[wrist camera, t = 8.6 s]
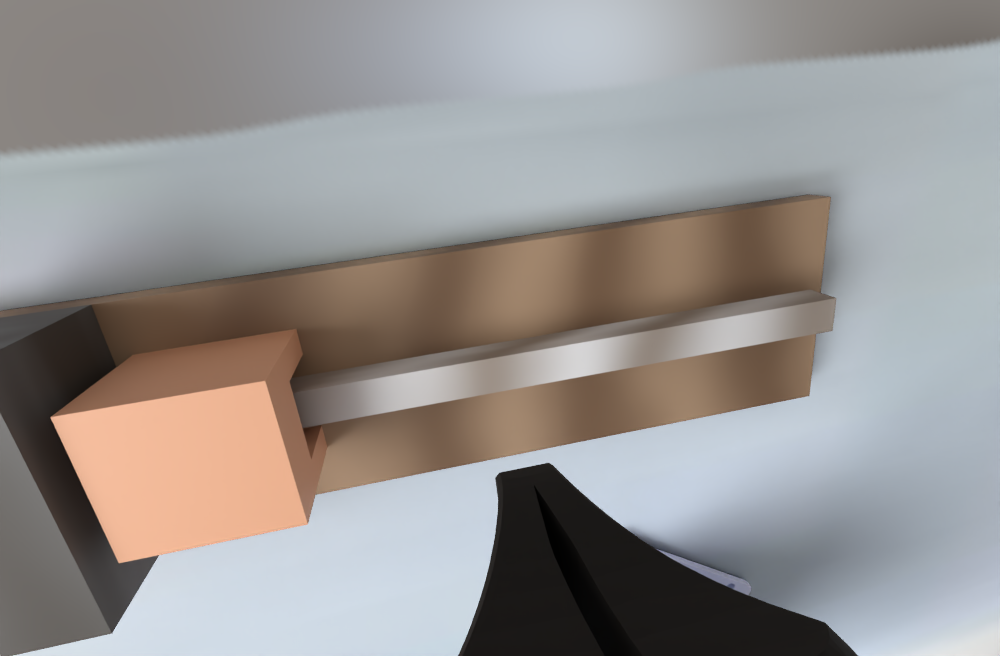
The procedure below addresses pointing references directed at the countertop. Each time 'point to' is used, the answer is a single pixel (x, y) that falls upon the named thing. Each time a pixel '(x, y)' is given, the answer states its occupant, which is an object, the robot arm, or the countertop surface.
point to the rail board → (421, 367)
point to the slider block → (195, 446)
